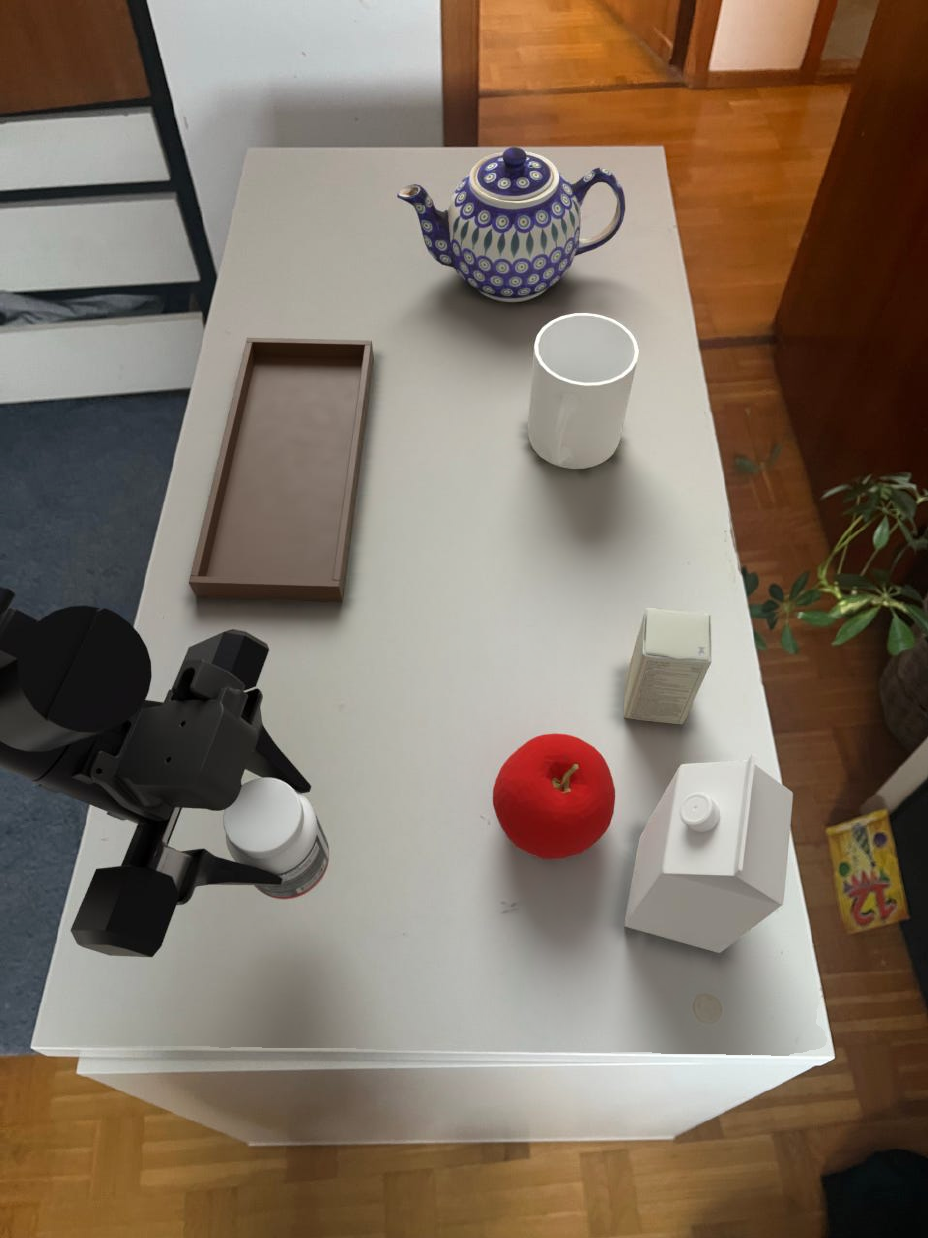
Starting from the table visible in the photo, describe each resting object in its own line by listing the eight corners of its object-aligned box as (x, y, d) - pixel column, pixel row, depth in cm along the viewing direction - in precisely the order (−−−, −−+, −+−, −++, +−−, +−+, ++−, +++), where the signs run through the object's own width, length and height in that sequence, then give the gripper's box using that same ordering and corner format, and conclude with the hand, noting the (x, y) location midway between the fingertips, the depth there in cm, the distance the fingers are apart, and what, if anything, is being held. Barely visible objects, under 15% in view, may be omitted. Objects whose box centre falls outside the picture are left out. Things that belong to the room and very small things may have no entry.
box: (684, 681, 75) (715, 613, 66) (683, 726, 73) (715, 663, 64) (622, 673, 76) (645, 605, 66) (620, 718, 74) (642, 654, 64)
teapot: (607, 230, 107) (626, 106, 94) (624, 312, 99) (648, 190, 87) (402, 236, 107) (393, 113, 94) (404, 320, 99) (394, 198, 86)
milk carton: (731, 860, 67) (815, 769, 51) (719, 954, 64) (806, 888, 48) (639, 836, 68) (693, 738, 52) (623, 927, 65) (675, 853, 49)
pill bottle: (248, 823, 62) (216, 772, 54) (329, 815, 62) (309, 763, 54) (246, 906, 59) (211, 865, 51) (331, 897, 60) (311, 855, 51)
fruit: (580, 893, 66) (597, 855, 58) (472, 841, 68) (473, 797, 60) (624, 788, 70) (646, 738, 62) (521, 742, 72) (529, 687, 64)
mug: (619, 406, 92) (638, 316, 82) (619, 496, 86) (639, 410, 76) (529, 400, 92) (537, 309, 82) (522, 489, 86) (529, 402, 76)
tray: (342, 602, 80) (339, 586, 77) (195, 597, 80) (188, 582, 78) (373, 358, 96) (371, 340, 94) (251, 355, 96) (246, 337, 94)
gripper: (38, 904, 36) (328, 1000, 45) (197, 545, 46) (412, 680, 54) (-45, 909, 44) (217, 990, 52) (107, 600, 53) (307, 710, 62)
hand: (293, 835), depth 55 cm, fingers closed on pill bottle, 6 cm apart
